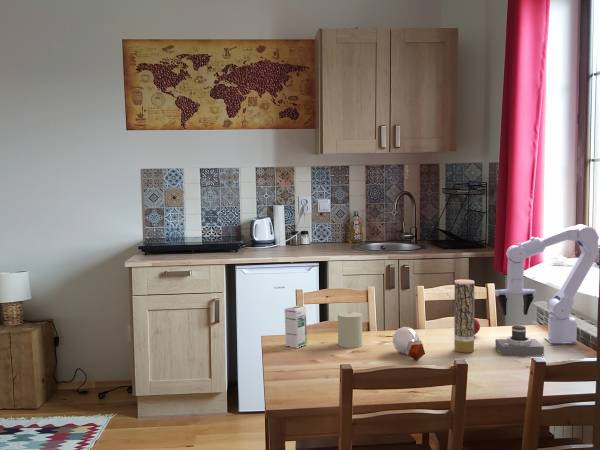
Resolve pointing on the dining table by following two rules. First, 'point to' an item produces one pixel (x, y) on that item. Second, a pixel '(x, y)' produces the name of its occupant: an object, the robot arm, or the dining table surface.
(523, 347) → the block
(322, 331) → the dining table surface
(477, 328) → the onion
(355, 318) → the can
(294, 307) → the syrup box
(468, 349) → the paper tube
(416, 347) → the potion bottle
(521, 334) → the lens
